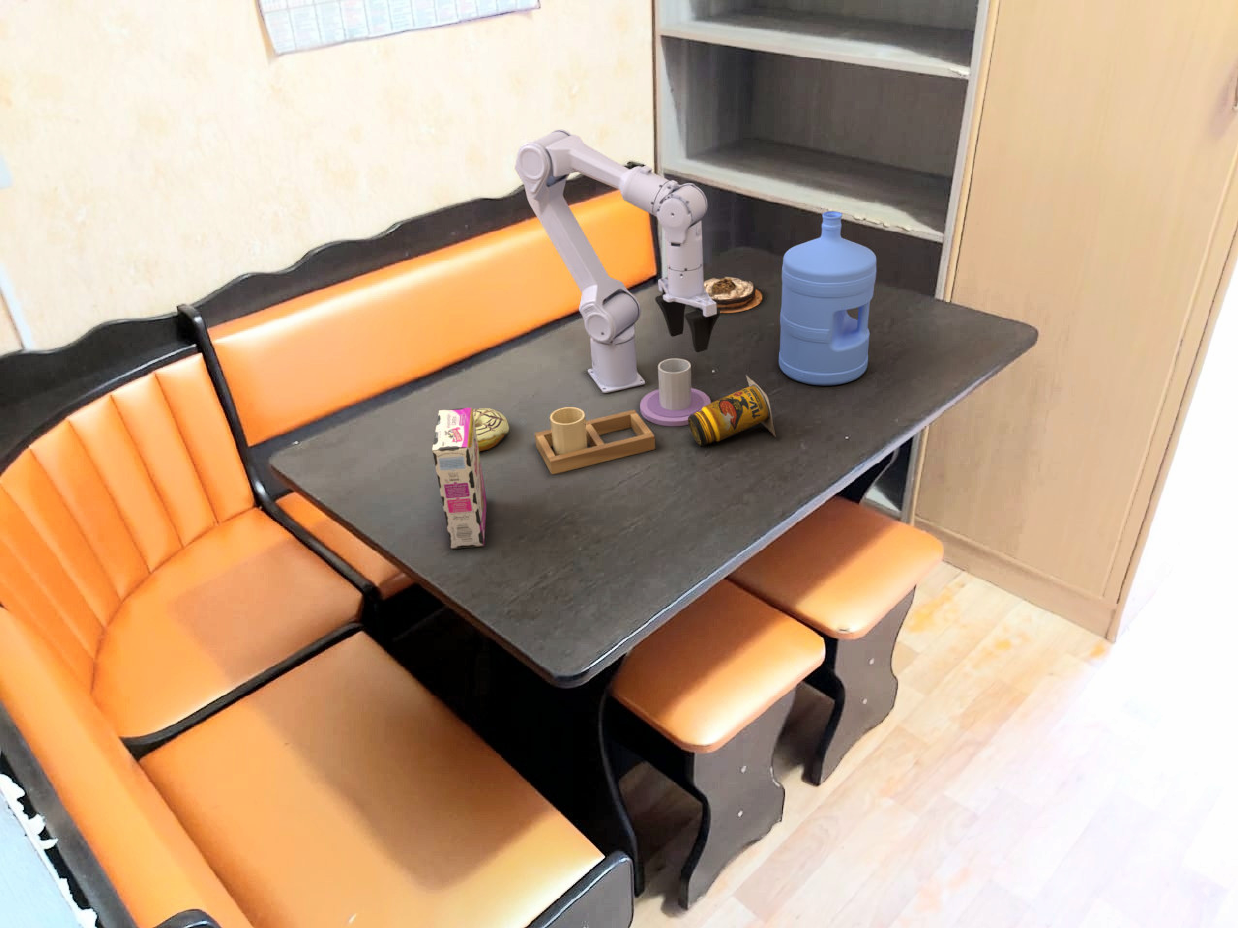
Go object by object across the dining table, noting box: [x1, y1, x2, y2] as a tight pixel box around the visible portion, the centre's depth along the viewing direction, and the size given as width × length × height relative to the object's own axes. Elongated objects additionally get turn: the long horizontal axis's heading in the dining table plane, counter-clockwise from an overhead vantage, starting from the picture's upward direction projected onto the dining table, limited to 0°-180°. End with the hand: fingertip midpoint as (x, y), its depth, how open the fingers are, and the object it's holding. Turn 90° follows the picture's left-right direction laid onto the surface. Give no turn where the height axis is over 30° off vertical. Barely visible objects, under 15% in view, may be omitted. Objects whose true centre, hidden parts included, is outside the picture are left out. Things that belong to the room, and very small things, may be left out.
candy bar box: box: [431, 407, 488, 550], centre depth 128 cm, size 11×5×16 cm, turn 5°
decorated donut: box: [472, 407, 510, 452], centre depth 151 cm, size 10×11×4 cm
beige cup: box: [549, 406, 589, 456], centre depth 145 cm, size 5×5×7 cm
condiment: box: [688, 374, 777, 447], centre depth 146 cm, size 7×8×12 cm
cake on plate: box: [704, 276, 763, 314], centre depth 193 cm, size 15×15×4 cm
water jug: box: [778, 210, 877, 387], centre depth 158 cm, size 16×16×28 cm
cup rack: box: [534, 409, 656, 475], centre depth 147 cm, size 9×17×2 cm, turn 110°
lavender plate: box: [639, 387, 712, 427], centre depth 156 cm, size 12×12×1 cm
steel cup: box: [657, 357, 692, 410], centre depth 154 cm, size 5×5×7 cm
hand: (688, 342), depth 154 cm, fingers open, 7 cm apart
